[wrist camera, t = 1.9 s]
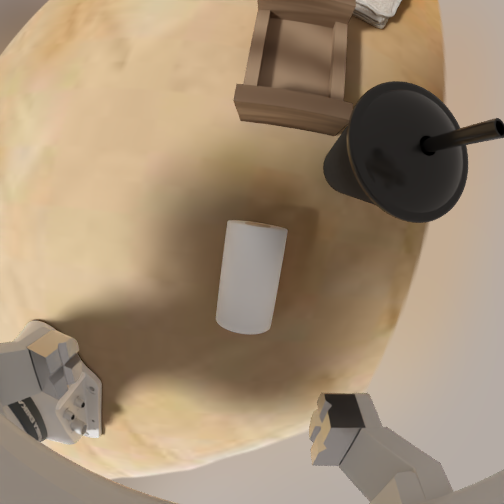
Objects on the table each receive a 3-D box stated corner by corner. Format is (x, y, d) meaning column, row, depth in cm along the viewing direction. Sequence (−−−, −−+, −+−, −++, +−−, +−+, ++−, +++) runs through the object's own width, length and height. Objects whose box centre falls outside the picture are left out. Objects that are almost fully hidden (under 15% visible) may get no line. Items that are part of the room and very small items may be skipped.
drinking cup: (303, 202, 26) (400, 219, 6) (313, 124, 24) (399, -6, 5) (377, 215, 26) (542, 257, 6) (386, 141, 24) (540, 83, 5)
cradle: (334, 136, 24) (351, 120, 19) (240, 120, 25) (233, 100, 19) (342, 26, 22) (355, -4, 16) (260, 12, 22) (259, -20, 16)
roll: (274, 316, 28) (265, 340, 23) (225, 305, 29) (207, 325, 24) (290, 227, 26) (284, 232, 21) (236, 218, 27) (219, 221, 22)
